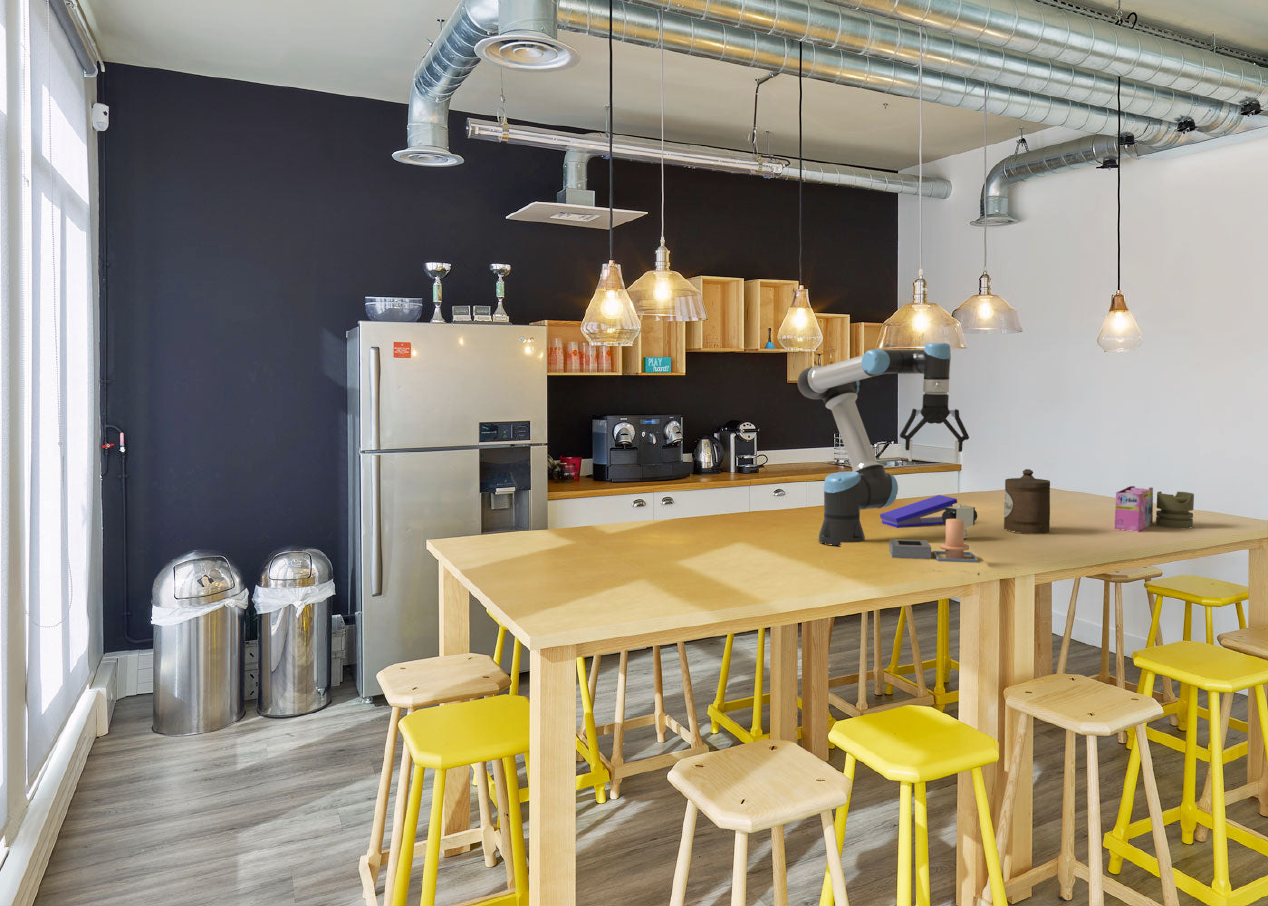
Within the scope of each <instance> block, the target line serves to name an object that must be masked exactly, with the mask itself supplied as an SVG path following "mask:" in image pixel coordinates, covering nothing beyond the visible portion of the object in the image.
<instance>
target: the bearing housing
mask: <svg viewBox="0 0 1268 906" xmlns="http://www.w3.org/2000/svg"><path fill="white" fill-rule="evenodd" d="M888 542H889V546H888V548H889V554H890V556H891V558H892V559H893V558H894V559H895V558H896V559H916V560H917V559H921V560H922V559H924V560H931V559H932V546H931V544H930V543H929V542H928V540H927V539H900V538H899V539H898V538H896V539H894V538H889V541H888Z"/></svg>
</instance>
